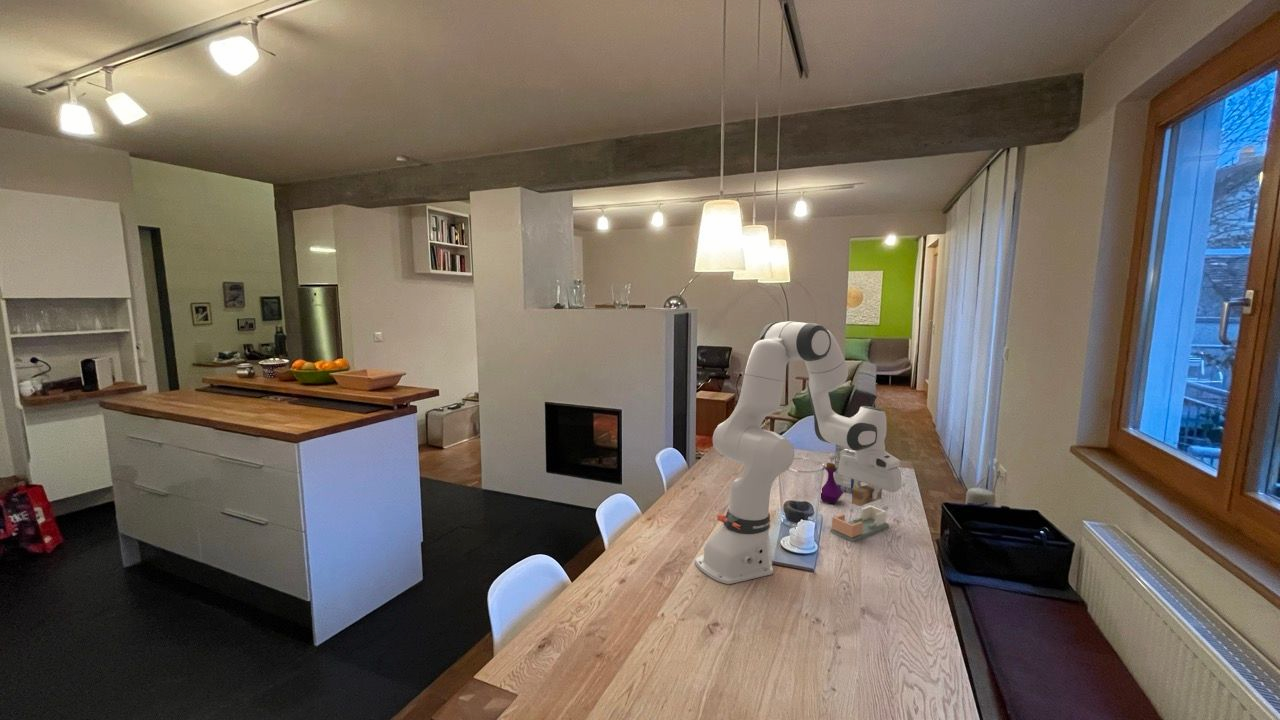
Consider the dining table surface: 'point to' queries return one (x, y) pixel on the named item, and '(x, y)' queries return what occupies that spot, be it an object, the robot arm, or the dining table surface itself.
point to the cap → (846, 526)
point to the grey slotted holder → (867, 522)
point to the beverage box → (841, 481)
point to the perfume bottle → (831, 484)
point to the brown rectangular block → (864, 495)
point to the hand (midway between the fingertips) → (866, 495)
